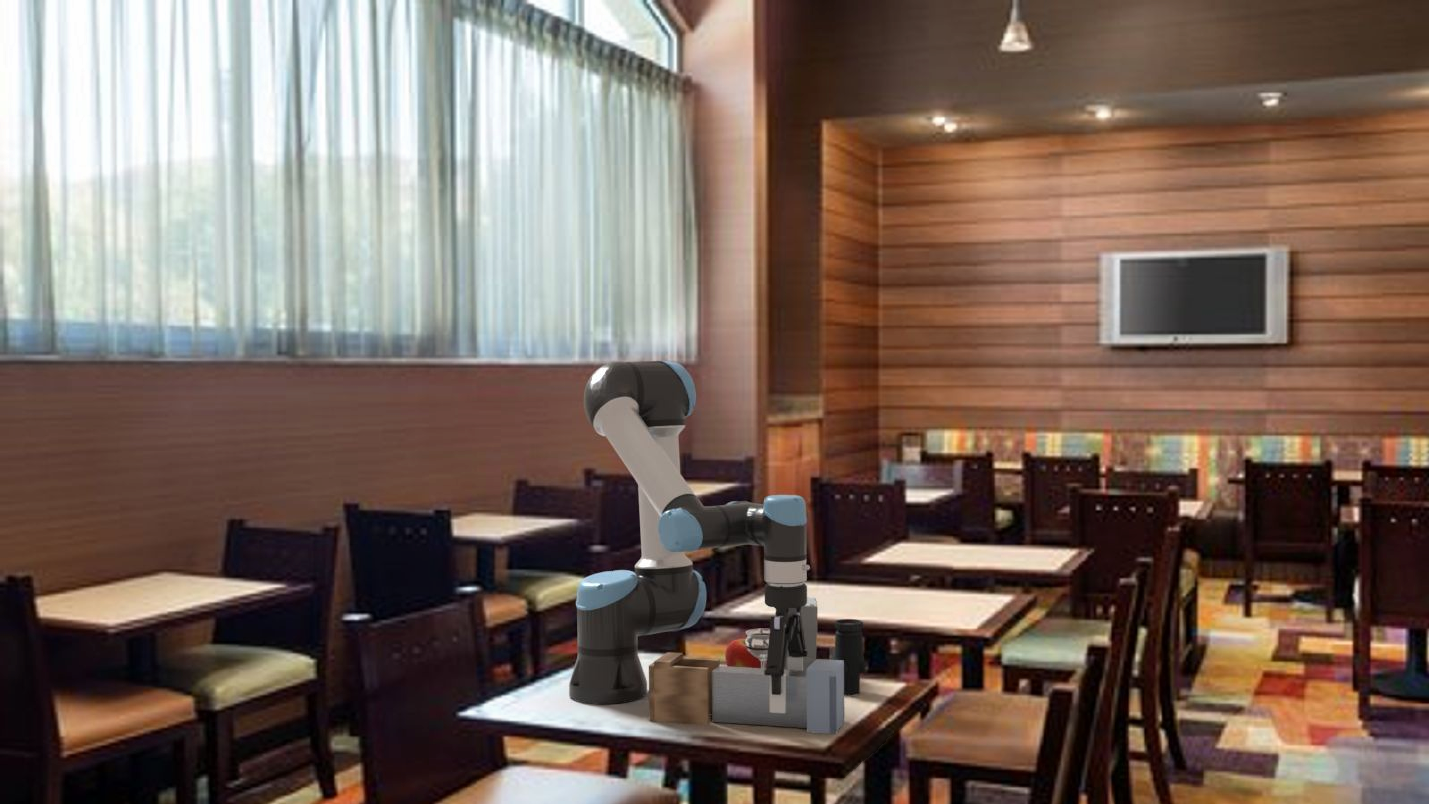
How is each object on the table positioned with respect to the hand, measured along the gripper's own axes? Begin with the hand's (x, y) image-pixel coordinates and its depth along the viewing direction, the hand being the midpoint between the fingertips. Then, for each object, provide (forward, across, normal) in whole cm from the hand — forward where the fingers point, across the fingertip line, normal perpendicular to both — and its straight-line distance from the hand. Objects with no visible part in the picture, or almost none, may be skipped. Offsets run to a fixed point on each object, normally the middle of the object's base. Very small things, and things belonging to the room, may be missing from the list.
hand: (786, 702), depth 234 cm
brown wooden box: (+4, 0, +18) cm, 19 cm away
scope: (+4, +25, -6) cm, 26 cm away
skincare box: (+4, +35, +6) cm, 36 cm away
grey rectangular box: (+4, 0, +3) cm, 5 cm away
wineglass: (+4, +20, +10) cm, 23 cm away
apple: (+4, +29, +16) cm, 33 cm away
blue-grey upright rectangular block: (+4, 0, -7) cm, 8 cm away
